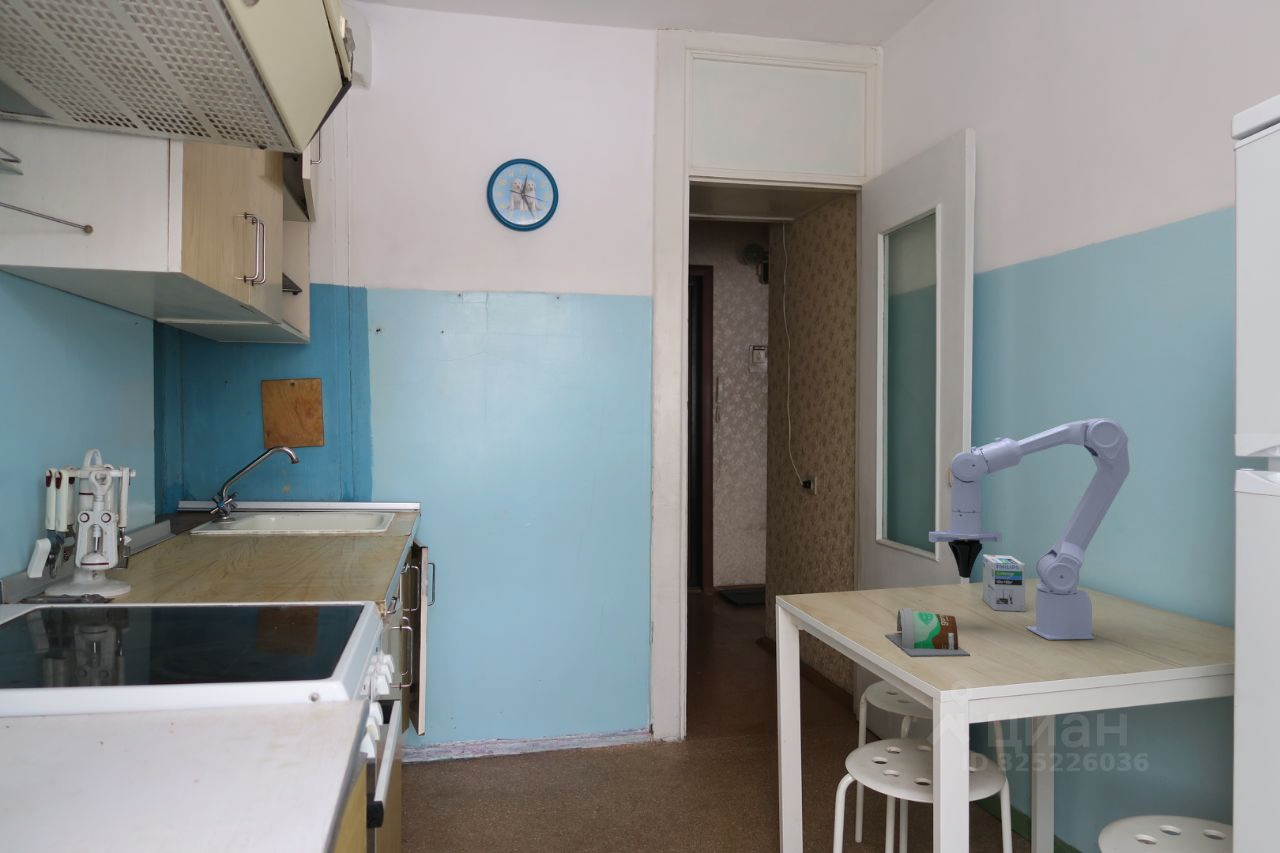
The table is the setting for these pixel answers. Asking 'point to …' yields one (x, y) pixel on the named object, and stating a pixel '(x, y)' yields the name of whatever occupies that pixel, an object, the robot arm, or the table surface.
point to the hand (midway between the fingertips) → (964, 576)
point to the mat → (925, 652)
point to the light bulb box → (1004, 583)
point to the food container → (927, 630)
